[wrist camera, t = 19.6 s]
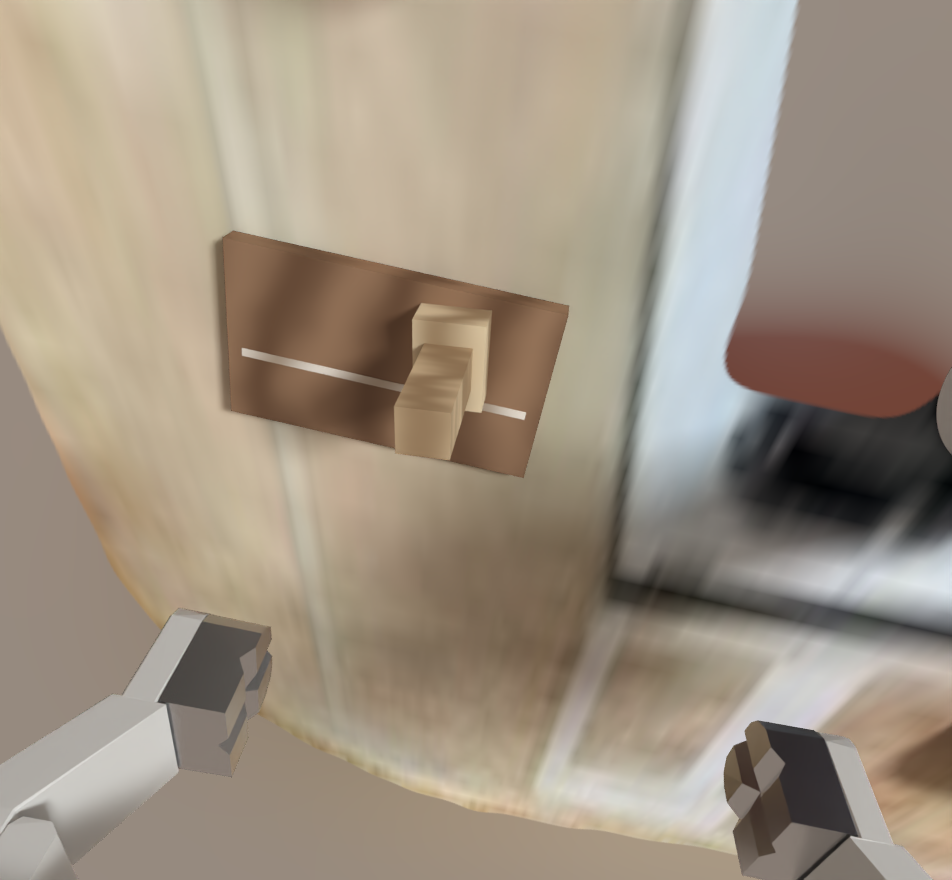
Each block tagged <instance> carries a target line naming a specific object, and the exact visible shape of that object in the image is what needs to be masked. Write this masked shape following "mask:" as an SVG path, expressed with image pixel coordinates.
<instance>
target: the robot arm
mask: <svg viewBox="0 0 952 880" xmlns="http://www.w3.org/2000/svg"><path fill="white" fill-rule="evenodd" d="M936 414H937V426H938V430H939V434H940V437H941V439H942V441H943V443H944V445H945V447H946V448H947V450H948V451H949V452H950V453H951V455H952V367H951V369H950V371H949V373H948V374H947V376H946V378H945V381H944V383H943V385H942V388H941V391H940V394H939V398H938V403H937V413H936ZM271 640H272V638H271V627H269V626H264V625H259V624H255V623H250V622H245V621H240V620H235V619H231V618H226V617H221V616H216V615H211V614H208V613H203V612H198V611H193V610H187V609H182V608H178V609H177V610H176V611H175V612H174V613H173V614H172V615H171V616H170V617H169V619H168V620H167V622H166V624H165V625H164V627H163V629H162V630H161V632H160V633H159V635H158V637H157V639H156V640H155V642H154V643H153V645H152V646H151V648H150V650H149V651H148V653H147V655H146V656H145V658H144V659H143V661H142V663H141V664H140V666H139V668H138V669H137V671H136V672H135V674H134V676H133V677H132V679H131V680H130V682H129V684H128V685H127V687H126V689H125V690H124V692H123V694H122V695H117V694H111V695H110V696H108V697H106V698H105V699H103V700H102V701H100V702H98V703H97V704H95V705H94V706H92V707H91V708H89V709H87V710H86V711H84V712H83V713H81V714H79V715H78V716H77V717H75V718H73V719H72V720H70V721H68V722H67V723H65V724H64V725H62V726H61V727H59V728H57V729H56V730H54V731H53V732H51V733H50V734H48V735H46V736H45V737H43V738H42V739H40V740H39V741H37V742H35V743H34V744H32V745H31V746H29V747H28V748H26V749H25V750H23V751H21V752H20V753H18V754H16V755H15V756H13V757H12V758H10V759H9V760H7V761H6V762H4V763H2V764H1V765H0V880H79V878H78V876H77V874H76V872H75V870H74V868H73V865H74V864H75V863H76V862H77V861H78V860H80V859H81V858H82V857H83V856H84V855H85V854H86V853H87V852H89V851H90V850H91V849H92V848H93V847H94V846H95V845H97V844H98V843H99V842H100V841H101V840H102V839H103V838H105V837H106V836H107V835H108V834H109V833H110V832H111V831H112V830H114V829H115V828H116V827H117V826H118V825H119V824H120V823H122V822H123V821H124V820H125V819H126V818H127V817H128V816H129V815H131V814H132V813H133V812H134V811H135V810H136V809H137V808H139V807H140V806H141V805H142V804H143V803H144V802H145V801H146V800H148V799H149V798H150V797H151V796H152V795H153V794H154V793H155V792H156V791H158V790H159V789H160V788H161V787H162V786H163V785H164V784H166V783H167V782H168V781H169V780H170V779H171V778H172V777H174V776H175V775H176V774H177V773H178V772H179V770H178V768H179V769H185V770H192V771H198V772H204V773H210V774H216V775H222V776H228V777H232V775H233V773H234V771H235V768H236V766H237V763H238V761H239V759H240V756H241V754H242V752H243V749H244V747H245V744H246V742H247V740H248V722H247V721H248V720H249V719H250V718H252V717H253V716H254V715H256V714H257V713H258V712H259V711H260V708H261V706H262V703H263V700H264V698H265V695H266V692H267V688H268V685H269V681H270V677H271V670H272V655H271V654H270V653H269V652H268V651H267V649H268V647H269V644H270V642H271ZM745 735H746V740H747V741H744V742H742V743H739V744H736V745H734V746H733V748H732V749H731V751H730V752H729V754H728V756H727V758H726V763H725V768H724V789H725V794H726V799H727V803H728V804H729V806H730V807H731V808H732V810H733V811H734V812H735V814H736V815H737V816H738V818H739V820H738V822H737V824H736V826H735V828H734V830H733V834H734V839H735V844H736V849H737V854H738V858H739V863H740V868H741V872H742V875H744V876H749V877H753V878H757V879H762V880H933V879H932V878H931V877H930V876H929V875H928V874H927V872H926V871H925V870H924V869H923V868H922V867H921V866H920V865H919V864H918V862H917V861H916V860H915V859H914V858H913V857H912V856H911V855H910V854H909V853H908V851H907V850H906V849H905V848H904V847H903V846H900V845H896V844H893V841H892V839H891V836H890V834H889V831H888V829H887V826H886V824H885V821H884V818H883V816H882V813H881V811H880V808H879V806H878V803H877V801H876V798H875V795H874V793H873V790H872V788H871V785H870V783H869V780H868V778H867V775H866V772H865V770H864V767H863V765H862V762H861V760H860V757H859V754H858V752H857V749H856V747H855V745H854V744H853V743H852V742H851V740H850V739H848V738H846V737H843V736H837V735H832V734H826V733H820V732H815V731H814V730H809V729H803V728H798V727H792V726H786V725H781V724H775V723H769V722H764V721H755V722H751V723H750V724H749V726H748V727H747V728H746V730H745Z"/></svg>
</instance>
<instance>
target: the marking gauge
mask: <svg viewBox="0 0 952 880" xmlns="http://www.w3.org/2000/svg"><path fill="white" fill-rule="evenodd" d="M491 317H492V310H483V309H473V308H464V307H454V306H444V305H435V304H425V303H421V304H420V306H419V308H418V310H417V311H416V313H415V315H414V317H413V319H412V355H413V368H412V370H411V372H410V374H409V376H408V378H407V381H406V383H405V385H404V387H403V389H402V391H401V393H400V395H399V397H398V399H397V401H396V403H395V405H394V422H395V453H396V454H404V455H412V456H420V457H428V458H436V459H444V460H450V458H451V454H452V451H453V448H454V445H455V441H456V438H457V435H458V431H459V428H460V425H461V422H462V418H463V415H464V412H465V411H470V412H479V413H481V412H482V408H483V405H484V401H485V397H486V393H487V378H488V363H489V348H490V332H491Z"/></svg>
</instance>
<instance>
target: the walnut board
mask: <svg viewBox="0 0 952 880" xmlns="http://www.w3.org/2000/svg"><path fill="white" fill-rule="evenodd" d="M223 256H224V276H225V295H226V315H227V335H228V355H229V374H230V394H231V411H235V412H239V413H244V414H248V415H252V416H257V417H261V418H265V419H270V420H274V421H279V422H283V423H287V424H292V425H296V426H300V427H305V428H309V429H313V430H318V431H322V432H326V433H331V434H335V435H339V436H344V437H348V438H352V439H357V440H361V441H366V442H370V443H374V444H379V445H383V446H387V447H392V448H395V422H394V405H395V403H396V401H397V399H398V397H399V395H400V393H401V391H402V389H403V387H404V385H405V383H406V381H407V378H408V376H409V374H410V372H411V370H412V368H413V355H412V319H413V317H414V315H415V313H416V311H417V310H418V308H419V306H420V304H421V303H425V304H435V305H444V306H454V307H464V308H473V309H483V310H492V317H491V332H490V348H489V363H488V378H487V393H486V397H485V401H484V405H483V408H482V412H481V413H479V412H470V411H465V412H464V415H463V418H462V422H461V425H460V428H459V431H458V435H457V438H456V441H455V445H454V448H453V451H452V454H451V458H450V460H448V461H452V462H457V463H461V464H466V465H470V466H474V467H479V468H483V469H487V470H492V471H496V472H500V473H505V474H509V475H513V476H518V477H522V478H524V474H525V471H526V467H527V463H528V460H529V456H530V452H531V449H532V445H533V441H534V438H535V434H536V431H537V427H538V423H539V420H540V416H541V412H542V409H543V405H544V402H545V398H546V394H547V391H548V387H549V383H550V380H551V376H552V373H553V369H554V365H555V362H556V358H557V354H558V351H559V347H560V344H561V340H562V336H563V333H564V329H565V325H566V322H567V318H568V312H569V306H567V305H563V304H558V303H554V302H549V301H545V300H540V299H536V298H531V297H527V296H522V295H518V294H513V293H509V292H505V291H500V290H496V289H491V288H487V287H482V286H478V285H473V284H469V283H464V282H460V281H455V280H451V279H446V278H442V277H437V276H433V275H429V274H424V273H420V272H415V271H411V270H406V269H402V268H397V267H393V266H388V265H384V264H379V263H375V262H370V261H366V260H361V259H357V258H353V257H348V256H344V255H339V254H335V253H330V252H326V251H321V250H317V249H312V248H308V247H303V246H299V245H294V244H290V243H285V242H281V241H277V240H272V239H268V238H263V237H259V236H254V235H250V234H245V233H241V232H236V231H232V232H231V233H229V234H228V235H226V236H225V237H223Z"/></svg>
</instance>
